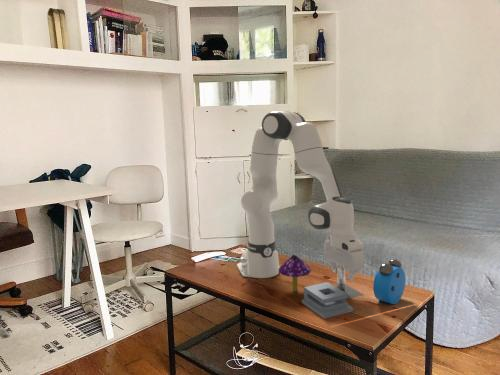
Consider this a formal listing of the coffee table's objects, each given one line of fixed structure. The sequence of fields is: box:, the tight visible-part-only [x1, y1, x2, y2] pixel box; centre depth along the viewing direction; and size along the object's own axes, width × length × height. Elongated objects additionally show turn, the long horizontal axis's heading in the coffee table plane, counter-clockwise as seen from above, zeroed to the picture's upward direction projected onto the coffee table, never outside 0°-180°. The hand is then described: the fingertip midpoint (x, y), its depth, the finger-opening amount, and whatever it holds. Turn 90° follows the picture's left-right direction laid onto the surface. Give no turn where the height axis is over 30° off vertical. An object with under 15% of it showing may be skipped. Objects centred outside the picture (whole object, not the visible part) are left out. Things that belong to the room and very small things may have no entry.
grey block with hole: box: [301, 282, 355, 320], centre depth 140 cm, size 14×12×6 cm
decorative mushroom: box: [279, 254, 312, 293], centre depth 154 cm, size 12×12×15 cm
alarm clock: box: [372, 258, 406, 305], centre depth 143 cm, size 13×6×15 cm, turn 135°
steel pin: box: [336, 265, 346, 292], centre depth 152 cm, size 3×3×10 cm
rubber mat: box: [334, 283, 365, 301], centre depth 153 cm, size 12×12×1 cm
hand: (342, 275), depth 152 cm, fingers open, 8 cm apart
